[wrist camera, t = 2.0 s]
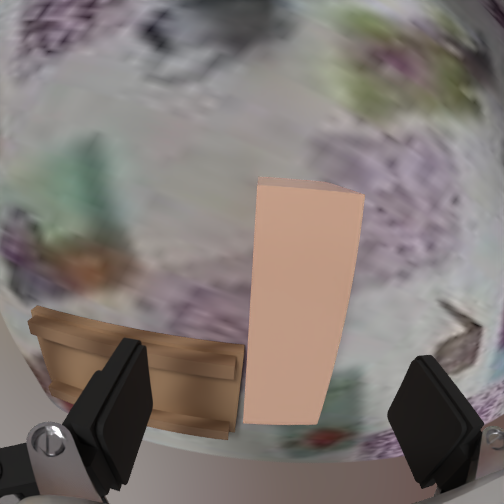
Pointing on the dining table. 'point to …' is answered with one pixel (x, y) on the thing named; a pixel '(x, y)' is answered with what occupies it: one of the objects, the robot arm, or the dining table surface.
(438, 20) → the dining table surface
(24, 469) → the robot arm
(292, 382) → the block
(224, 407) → the rack
